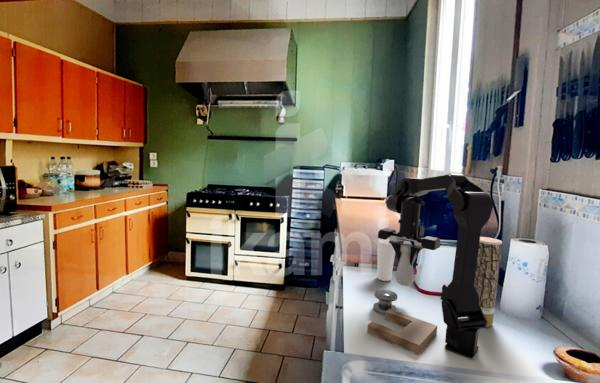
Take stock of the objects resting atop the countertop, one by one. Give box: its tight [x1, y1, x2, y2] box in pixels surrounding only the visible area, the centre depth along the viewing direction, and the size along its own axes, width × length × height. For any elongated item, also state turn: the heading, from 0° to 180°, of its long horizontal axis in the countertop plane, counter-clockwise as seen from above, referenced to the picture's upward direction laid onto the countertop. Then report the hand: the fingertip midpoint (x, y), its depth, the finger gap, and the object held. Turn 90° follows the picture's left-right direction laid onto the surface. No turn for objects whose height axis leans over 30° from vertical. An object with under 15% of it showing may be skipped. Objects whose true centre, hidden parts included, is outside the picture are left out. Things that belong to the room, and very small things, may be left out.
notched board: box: [366, 309, 438, 356], centre depth 90 cm, size 14×13×2 cm
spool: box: [372, 289, 398, 315], centre depth 104 cm, size 7×7×5 cm
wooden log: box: [466, 236, 503, 328], centre depth 98 cm, size 7×7×25 cm
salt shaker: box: [395, 243, 415, 287], centre depth 108 cm, size 6×6×13 cm
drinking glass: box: [376, 239, 396, 282], centre depth 129 cm, size 7×7×15 cm
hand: (405, 264), depth 108 cm, fingers closed on salt shaker, 3 cm apart
